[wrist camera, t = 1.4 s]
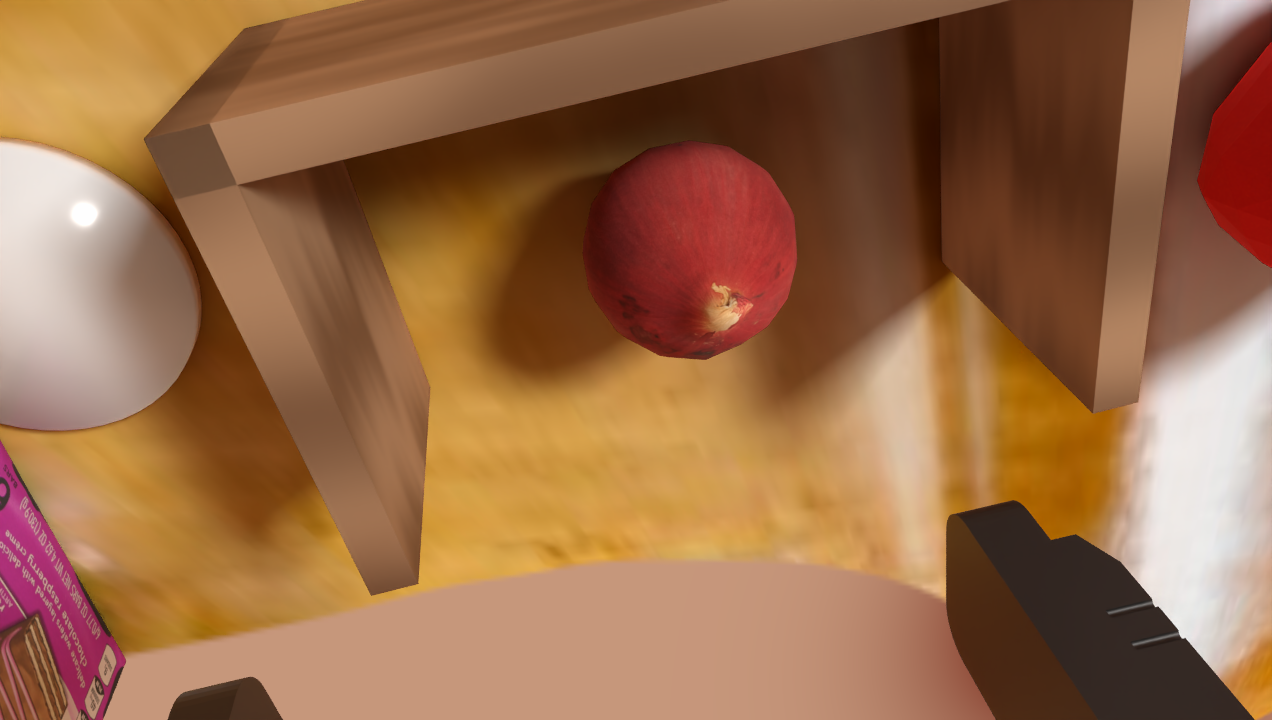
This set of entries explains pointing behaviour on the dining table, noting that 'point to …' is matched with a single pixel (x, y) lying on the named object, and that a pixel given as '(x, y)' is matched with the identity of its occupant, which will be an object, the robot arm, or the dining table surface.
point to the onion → (690, 249)
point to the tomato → (1243, 161)
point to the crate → (620, 62)
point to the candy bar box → (47, 620)
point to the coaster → (86, 293)
